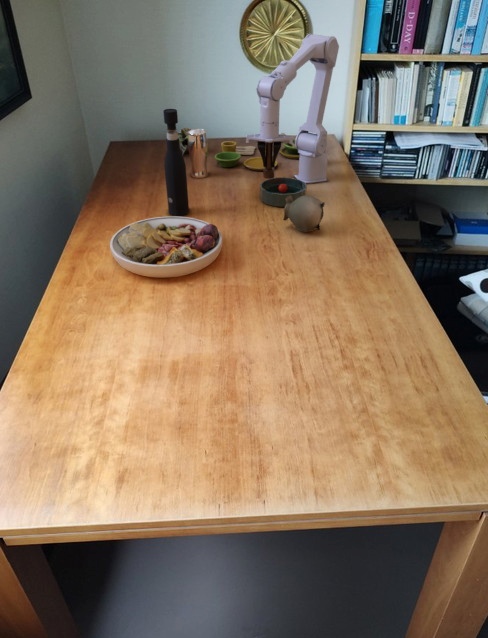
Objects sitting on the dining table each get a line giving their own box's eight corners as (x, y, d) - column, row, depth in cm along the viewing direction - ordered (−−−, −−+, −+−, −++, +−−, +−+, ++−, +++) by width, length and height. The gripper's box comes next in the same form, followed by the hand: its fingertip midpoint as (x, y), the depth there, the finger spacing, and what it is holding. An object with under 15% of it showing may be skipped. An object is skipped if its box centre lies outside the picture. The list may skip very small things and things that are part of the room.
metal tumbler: (208, 178, 197) (206, 134, 187) (189, 178, 197) (185, 134, 187) (209, 171, 202) (207, 128, 192) (190, 171, 202) (188, 128, 192)
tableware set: (324, 150, 221) (326, 133, 217) (324, 174, 199) (325, 156, 195) (223, 146, 224) (222, 130, 220) (212, 170, 203) (211, 153, 199)
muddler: (272, 174, 180) (273, 139, 173) (275, 178, 178) (276, 142, 171) (261, 175, 179) (262, 140, 172) (265, 179, 177) (265, 143, 170)
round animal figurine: (294, 219, 170) (296, 186, 163) (329, 227, 165) (333, 194, 158) (278, 231, 163) (279, 197, 156) (315, 240, 158) (318, 206, 152)
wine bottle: (190, 208, 176) (183, 107, 157) (187, 216, 171) (179, 113, 152) (171, 207, 177) (161, 107, 158) (166, 216, 172) (156, 113, 153)
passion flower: (190, 164, 224) (206, 139, 218) (182, 168, 214) (199, 142, 209) (168, 146, 222) (183, 120, 216) (159, 149, 213) (175, 122, 207)
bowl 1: (118, 290, 137) (113, 262, 132) (108, 239, 159) (104, 213, 154) (234, 274, 143) (233, 246, 138) (209, 227, 165) (208, 201, 160)
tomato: (285, 190, 186) (285, 181, 184) (288, 193, 184) (289, 184, 182) (277, 191, 186) (277, 182, 184) (280, 194, 183) (280, 186, 182)
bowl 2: (295, 188, 189) (296, 175, 187) (312, 204, 178) (313, 191, 175) (253, 193, 186) (253, 180, 183) (268, 210, 175) (268, 196, 172)
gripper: (245, 124, 165) (245, 170, 174) (293, 125, 164) (291, 170, 173) (246, 118, 170) (247, 162, 179) (293, 118, 170) (291, 163, 178)
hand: (268, 166), depth 176 cm, fingers closed on muddler, 2 cm apart
